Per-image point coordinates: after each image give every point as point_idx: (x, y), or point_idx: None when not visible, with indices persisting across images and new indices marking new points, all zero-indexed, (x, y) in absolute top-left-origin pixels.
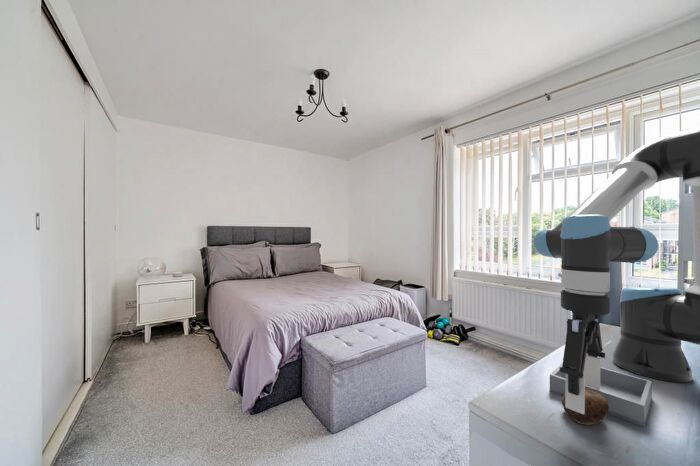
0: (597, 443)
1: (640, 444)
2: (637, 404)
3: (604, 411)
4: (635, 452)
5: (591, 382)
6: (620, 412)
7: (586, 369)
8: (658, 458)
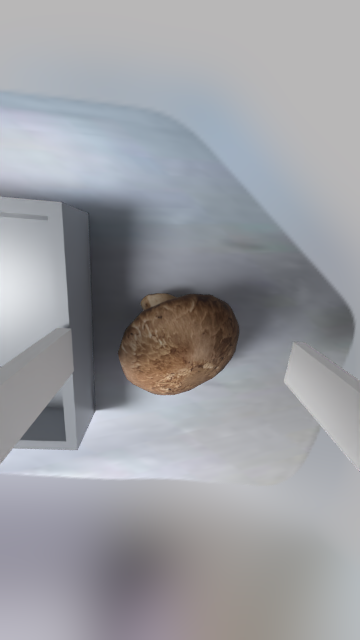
0: (270, 297)
1: (199, 222)
2: (64, 222)
3: (221, 302)
4: (248, 231)
5: (63, 358)
6: (85, 266)
7: (40, 399)
8: (236, 188)
